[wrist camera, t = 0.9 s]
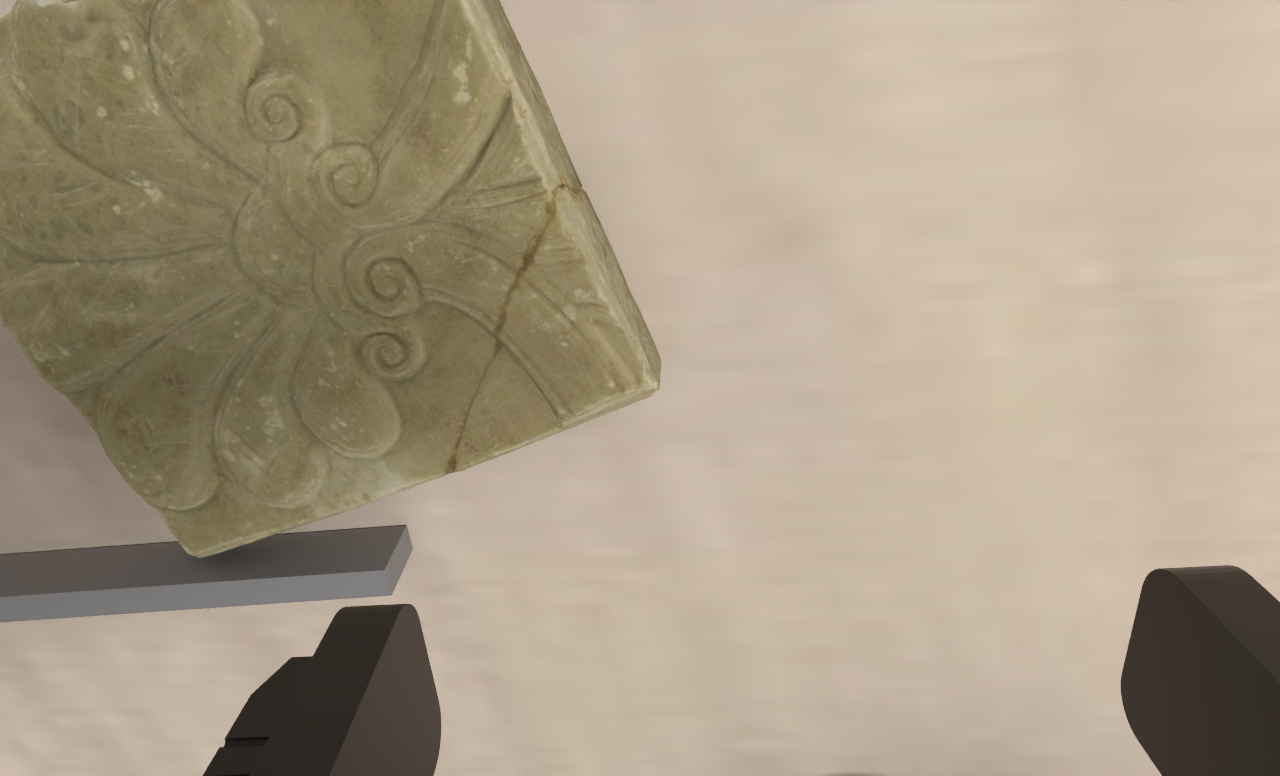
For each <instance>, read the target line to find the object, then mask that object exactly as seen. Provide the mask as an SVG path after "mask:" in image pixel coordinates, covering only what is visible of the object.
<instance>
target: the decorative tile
mask: <svg viewBox="0 0 1280 776" xmlns="http://www.w3.org/2000/svg"><path fill="white" fill-rule="evenodd" d="M0 319H1V321H2V322H3V324H4V325H5V326H6V328H7V329H8V330H9V331H10V332H11V334H12V335H13V336H14V337H15V339H16V341H17V343H18V345H19V347H20V349H21V350H22V351H23V353H24V354H25V355H26V357H27V358H28V359H29V361H30V362H31V364H32V365H33V366H34V368H35V369H36V370H37V372H38V373H39V374H40V376H41V377H42V378H43V379H44V380H45V381H46V382H47V383H48V384H49V385H51V386H52V387H54V388H55V389H56V390H58V391H59V392H61V393H62V394H64V395H66V396H67V397H68V398H69V400H70V401H71V402H72V404H73V405H74V406H75V407H76V408H77V409H78V410H79V411H80V412H81V414H82V415H83V416H84V417H85V418H86V420H87V421H88V422H89V423H90V425H91V426H92V427H93V429H94V430H95V431H96V433H97V434H98V436H99V439H100V442H101V444H102V446H103V448H104V450H105V452H106V454H107V456H108V457H109V459H110V460H111V461H112V463H113V464H114V466H115V467H116V468H117V470H118V471H119V473H120V474H121V475H122V477H123V478H124V479H125V481H126V482H127V483H128V485H129V486H130V487H131V488H132V489H134V490H135V491H136V492H137V493H138V494H139V495H140V496H141V497H142V498H143V499H144V500H145V501H146V502H147V503H148V504H150V505H151V506H153V507H155V508H157V509H158V511H159V512H160V514H161V516H162V517H163V519H164V521H165V522H166V524H167V526H168V527H169V529H170V530H171V532H172V533H173V535H174V536H175V537H176V539H177V540H178V542H179V543H180V544H181V546H182V547H183V548H184V549H185V551H186V552H187V553H188V554H190V555H193V556H196V557H198V558H201V557H205V556H210V555H214V554H217V553H220V552H223V551H226V550H229V549H232V548H235V547H238V546H241V545H245V544H248V543H251V542H254V541H257V540H260V539H262V538H265V537H268V536H271V535H274V534H277V533H280V532H283V531H286V530H289V529H292V528H295V527H298V526H301V525H304V524H307V523H311V522H314V521H317V520H320V519H323V518H327V517H330V516H333V515H336V514H339V513H342V512H345V511H348V510H351V509H353V508H356V507H359V506H362V505H364V504H367V503H369V502H372V501H375V500H377V499H380V498H383V497H386V496H389V495H391V494H394V493H397V492H400V491H403V490H406V489H408V488H411V487H414V486H416V485H419V484H422V483H424V482H427V481H430V480H433V479H436V478H439V477H442V476H444V475H447V474H449V473H453V472H457V471H462V470H465V469H467V468H470V467H472V466H475V465H477V464H479V463H482V462H485V461H488V460H490V459H493V458H496V457H498V456H501V455H504V454H507V453H509V452H511V451H514V450H516V449H519V448H521V447H523V446H526V445H528V444H531V443H533V442H536V441H538V440H541V439H543V438H546V437H549V436H551V435H554V434H556V433H559V432H562V431H564V430H567V429H569V428H572V427H575V426H577V425H580V424H583V423H585V422H588V421H590V420H593V419H595V418H598V417H600V416H603V415H605V414H607V413H610V412H612V411H615V410H618V409H620V408H623V407H625V406H628V405H630V404H633V403H635V402H638V401H640V400H642V399H645V398H647V397H650V396H651V395H652V394H653V393H655V392H656V391H657V390H659V383H660V370H661V359H660V356H659V354H658V351H657V349H656V346H655V344H654V341H653V339H652V337H651V335H650V332H649V330H648V328H647V326H646V324H645V321H644V319H643V316H642V314H641V312H640V310H639V308H638V305H637V303H636V302H635V300H634V298H633V296H632V294H631V292H630V290H629V287H628V285H627V283H626V280H625V278H624V275H623V273H622V271H621V268H620V266H619V263H618V261H617V258H616V256H615V254H614V251H613V249H612V247H611V245H610V243H609V241H608V238H607V236H606V234H605V232H604V229H603V227H602V225H601V223H600V221H599V219H598V217H597V215H596V213H595V211H594V209H593V206H592V204H591V202H590V200H589V198H588V196H587V193H586V192H585V191H584V190H583V189H582V184H581V182H580V180H579V178H578V176H577V173H576V171H575V169H574V167H573V164H572V162H571V159H570V157H569V154H568V152H567V150H566V147H565V145H564V143H563V140H562V138H561V136H560V133H559V131H558V128H557V126H556V123H555V121H554V118H553V116H552V113H551V111H550V109H549V106H548V104H547V102H546V100H545V97H544V95H543V93H542V91H541V88H540V86H539V84H538V82H537V80H536V78H535V76H534V74H533V71H532V69H531V67H530V65H529V63H528V61H527V59H526V58H525V55H524V53H523V51H522V48H521V46H520V44H519V42H518V40H517V38H516V35H515V33H514V31H513V29H512V27H511V26H510V23H509V21H508V18H507V16H506V14H505V12H504V10H503V8H502V5H501V3H500V1H499V0H17V1H16V3H15V5H14V7H13V9H12V11H11V12H10V13H9V14H7V15H6V16H5V17H3V18H1V19H0Z"/></svg>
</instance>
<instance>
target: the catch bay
mask: <svg viewBox="0 0 1280 776" xmlns="http://www.w3.org/2000/svg"><path fill="white" fill-rule="evenodd" d="M411 551H412V545H411V541H410V537H409V533H408V529H407V525H402V526H388V527H375V528H361V529H347V530H333V531H320V532H306V533H292V534H278V535H271V536H268V537H265V538H262V539H260V540H257V541H254V542H251V543H248V544H245V545H241V546H238V547H235V548H232V549H229V550H226V551H223V552H220V553H217V554H214V555H210V556H205V557H201V558H198V557H196V556H193V555H190V554H188V553H187V552H186V551H185V549H184V548H183V547H182V546H181V544H180V543H179V542H168V543H155V544H141V545H127V546H113V547H100V548H86V549H72V550H58V551H44V552H31V553H17V554H3V555H0V622H11V621H25V620H40V619H55V618H69V617H84V616H98V615H113V614H128V613H142V612H157V611H172V610H186V609H201V608H215V607H230V606H245V605H259V604H274V603H289V602H303V601H318V600H332V599H347V598H362V597H376V596H391V595H392V593H393V591H394V589H395V587H396V584H397V582H398V580H399V578H400V576H401V573H402V571H403V569H404V567H405V565H406V562H407V560H408V558H409V556H410V554H411Z"/></svg>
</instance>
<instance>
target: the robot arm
mask: <svg viewBox="0 0 1280 776" xmlns="http://www.w3.org/2000/svg"><path fill="white" fill-rule="evenodd" d="M1121 695H1122V701H1123V706H1124V710H1125V713H1126V716H1127V719H1128V722H1129V724H1130V727H1131V729H1132V731H1133V733H1134V735H1135V736H1136V738H1137V739H1138V741H1139V743H1140V744H1141V745H1142V747H1143V748H1144V750H1145V751H1146V753H1147V754H1148V756H1149V757H1150V759H1151V760H1152V762H1153V763H1154V765H1155V766H1156V767H1157V769H1158V770H1159V772H1160V773H1161V775H1162V776H1280V602H1279V601H1278V600H1277V599H1276V598H1275V597H1273V596H1272V595H1271V594H1270V593H1269V592H1268V591H1267V590H1266V589H1265V588H1264V587H1263V586H1261V585H1260V584H1259V583H1258V582H1257V581H1256V580H1255V579H1254V578H1253V577H1252V576H1250V575H1249V574H1248V573H1247V572H1245V571H1244V570H1242V569H1240V568H1238V567H1235V566H1228V565H1225V566H1205V567H1185V568H1165V569H1156V570H1153V571H1152V572H1150V573H1149V574H1148V576H1147V577H1146V579H1145V581H1144V583H1143V586H1142V590H1141V594H1140V599H1139V603H1138V607H1137V611H1136V616H1135V620H1134V624H1133V629H1132V633H1131V637H1130V641H1129V646H1128V650H1127V654H1126V658H1125V663H1124V667H1123V671H1122V677H1121ZM440 739H441V713H440V706H439V700H438V696H437V692H436V688H435V683H434V679H433V675H432V671H431V666H430V662H429V658H428V654H427V649H426V645H425V641H424V637H423V632H422V628H421V624H420V620H419V616H418V613H417V611H416V609H415V608H414V606H412V605H411V604H395V605H374V606H354V607H344V608H342V609H340V610H339V611H338V612H337V613H336V615H335V617H334V618H333V620H332V622H331V624H330V625H329V627H328V629H327V631H326V633H325V635H324V637H323V639H322V640H321V642H320V644H319V646H318V648H317V650H316V652H315V653H314V655H313V656H312V657H292V658H291V659H289V660H288V661H287V662H286V663H285V664H284V665H283V666H282V667H281V668H280V669H279V670H277V671H276V672H275V673H274V674H273V675H272V676H271V677H270V678H269V679H268V680H267V681H266V682H264V683H263V684H262V685H261V686H260V687H259V688H258V689H257V690H256V691H255V692H254V693H253V694H251V696H250V698H249V699H248V701H247V703H246V704H245V706H244V708H243V709H242V711H241V713H240V714H239V716H238V718H237V719H236V721H235V723H234V724H233V726H232V728H231V729H230V731H229V733H228V734H227V736H226V738H225V746H224V747H220V748H219V749H218V751H217V753H216V754H215V756H214V758H213V759H212V761H211V763H210V764H209V766H208V768H207V769H206V771H205V773H204V774H203V776H433V775H434V772H435V768H436V764H437V760H438V755H439V748H440Z"/></svg>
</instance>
